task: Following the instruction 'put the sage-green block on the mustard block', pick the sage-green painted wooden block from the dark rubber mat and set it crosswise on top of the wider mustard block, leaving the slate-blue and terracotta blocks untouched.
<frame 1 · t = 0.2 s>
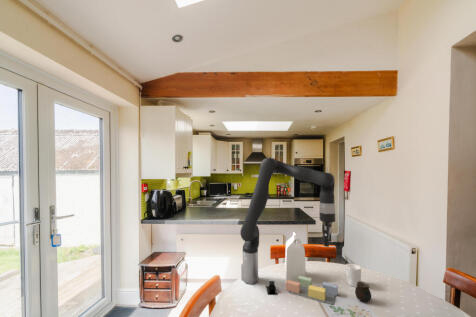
hand: (327, 243, 111), 28 cm above the table, fingers open, 8 cm apart
mustard block: (317, 296, 113), resting on mat
milk: (295, 276, 136), on the table
blue block: (330, 292, 117), resting on mat
mat: (312, 292, 118), on the table
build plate: (271, 291, 120), on the table
white cup: (353, 284, 126), on the table
mate gourd: (363, 300, 111), on the table
terracotta block: (293, 290, 120), on the table, touching mat
green block: (304, 285, 124), resting on mat
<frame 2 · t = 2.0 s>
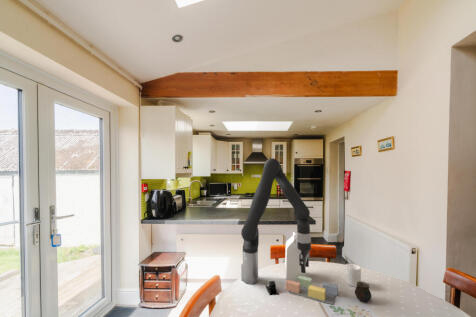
hand: (305, 269, 125), 9 cm above the table, fingers open, 8 cm apart
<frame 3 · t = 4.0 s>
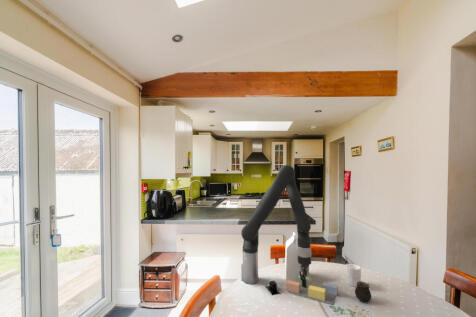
hand: (304, 285, 124), 1 cm above the table, fingers closed on green block, 3 cm apart
milk: (295, 276, 136), on the table, touching hand
green block: (304, 284, 124), point 1 cm above the table, touching gripper, mat
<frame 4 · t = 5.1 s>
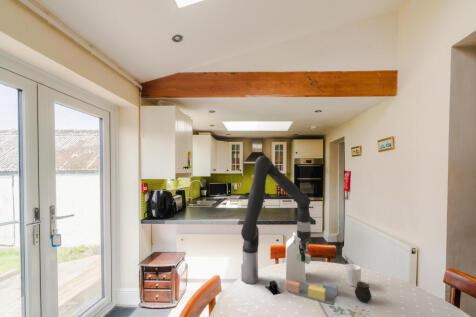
hand: (304, 259, 125), 15 cm above the table, fingers closed on green block, 3 cm apart
milk: (295, 276, 136), on the table
green block: (303, 261, 125), point 14 cm above the table, tilted 8°, touching gripper
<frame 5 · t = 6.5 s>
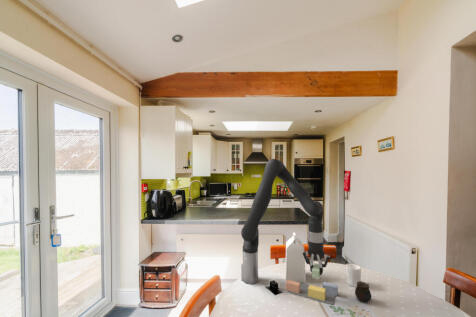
hand: (316, 273, 114), 12 cm above the table, fingers closed on green block, 3 cm apart
green block: (316, 274, 114), point 11 cm above the table, tilted 8°, touching gripper
when the fingers open (6 cm above the table, at t = 7.8 s): green block stays where it is, resting on mustard block.
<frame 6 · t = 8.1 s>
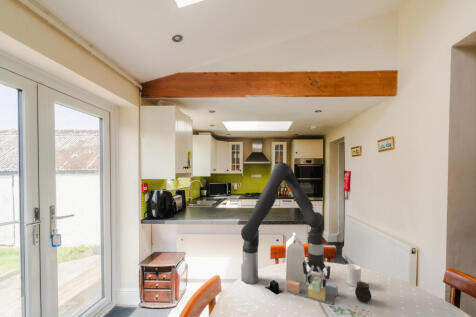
hand: (316, 284, 114), 7 cm above the table, fingers open, 6 cm apart
mustard block: (316, 296, 113), resting on mat, touching green block
green block: (317, 288, 114), point 4 cm above the table, touching mustard block
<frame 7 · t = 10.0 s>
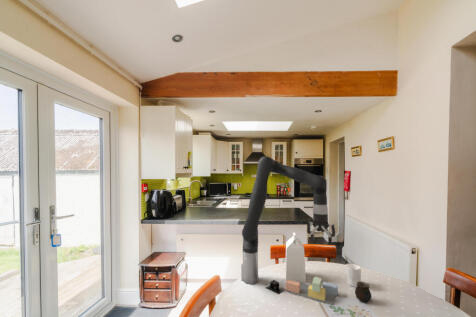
hand: (321, 242, 119), 26 cm above the table, fingers open, 8 cm apart
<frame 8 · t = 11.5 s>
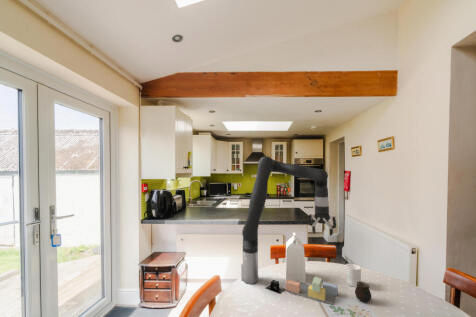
hand: (322, 234, 122), 30 cm above the table, fingers open, 8 cm apart
at the end: green block 0.5 cm off-centre on the mustard block, point 4.0 cm above the mustard block's base; blue block moved 0.0 cm from its start; terracotta block moved 0.0 cm from its start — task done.
